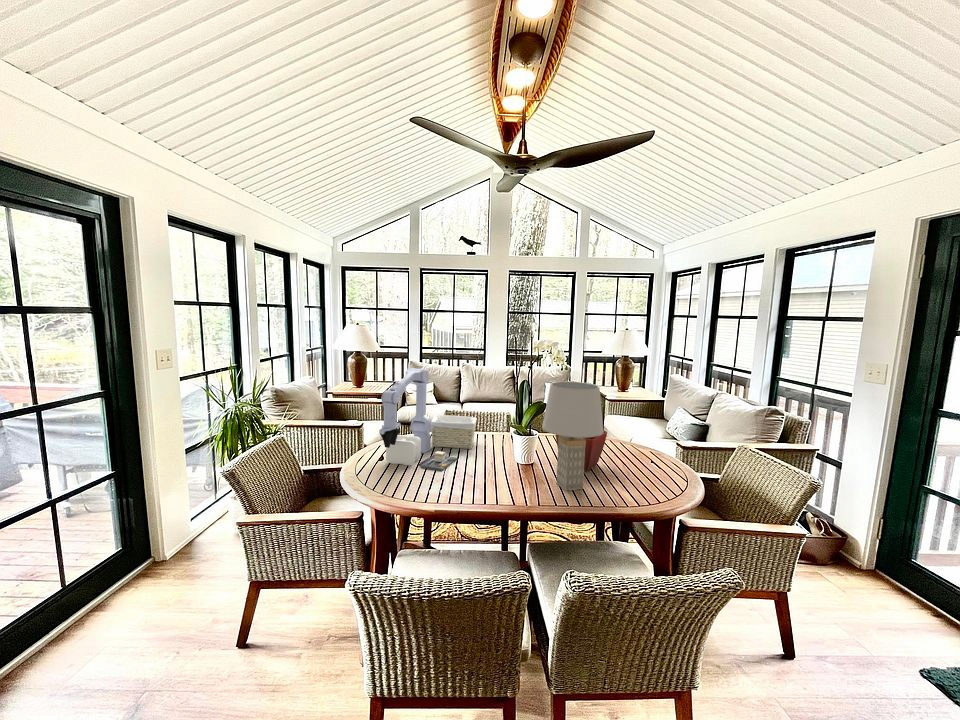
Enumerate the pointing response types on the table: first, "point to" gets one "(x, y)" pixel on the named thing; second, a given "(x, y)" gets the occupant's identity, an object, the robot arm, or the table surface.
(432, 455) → the cords
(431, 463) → the panel
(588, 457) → the plant pot
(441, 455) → the white and orange block
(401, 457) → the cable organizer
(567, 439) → the lamp
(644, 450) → the table surface
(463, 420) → the storage basket
